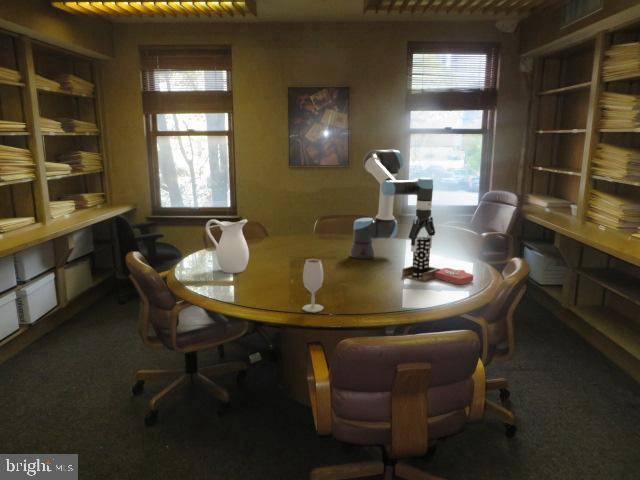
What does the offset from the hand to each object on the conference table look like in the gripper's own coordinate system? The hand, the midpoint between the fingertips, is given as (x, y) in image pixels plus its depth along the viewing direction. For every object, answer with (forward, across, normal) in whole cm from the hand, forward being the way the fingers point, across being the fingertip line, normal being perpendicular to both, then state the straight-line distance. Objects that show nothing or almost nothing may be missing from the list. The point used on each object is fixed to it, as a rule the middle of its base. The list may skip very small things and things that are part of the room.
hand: (421, 249), depth 245 cm
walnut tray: (+15, 0, -1) cm, 15 cm away
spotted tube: (+14, 0, -1) cm, 14 cm away
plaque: (+14, +9, -15) cm, 23 cm away
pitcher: (+16, -67, +78) cm, 104 cm away
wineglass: (+14, -75, +1) cm, 76 cm away
